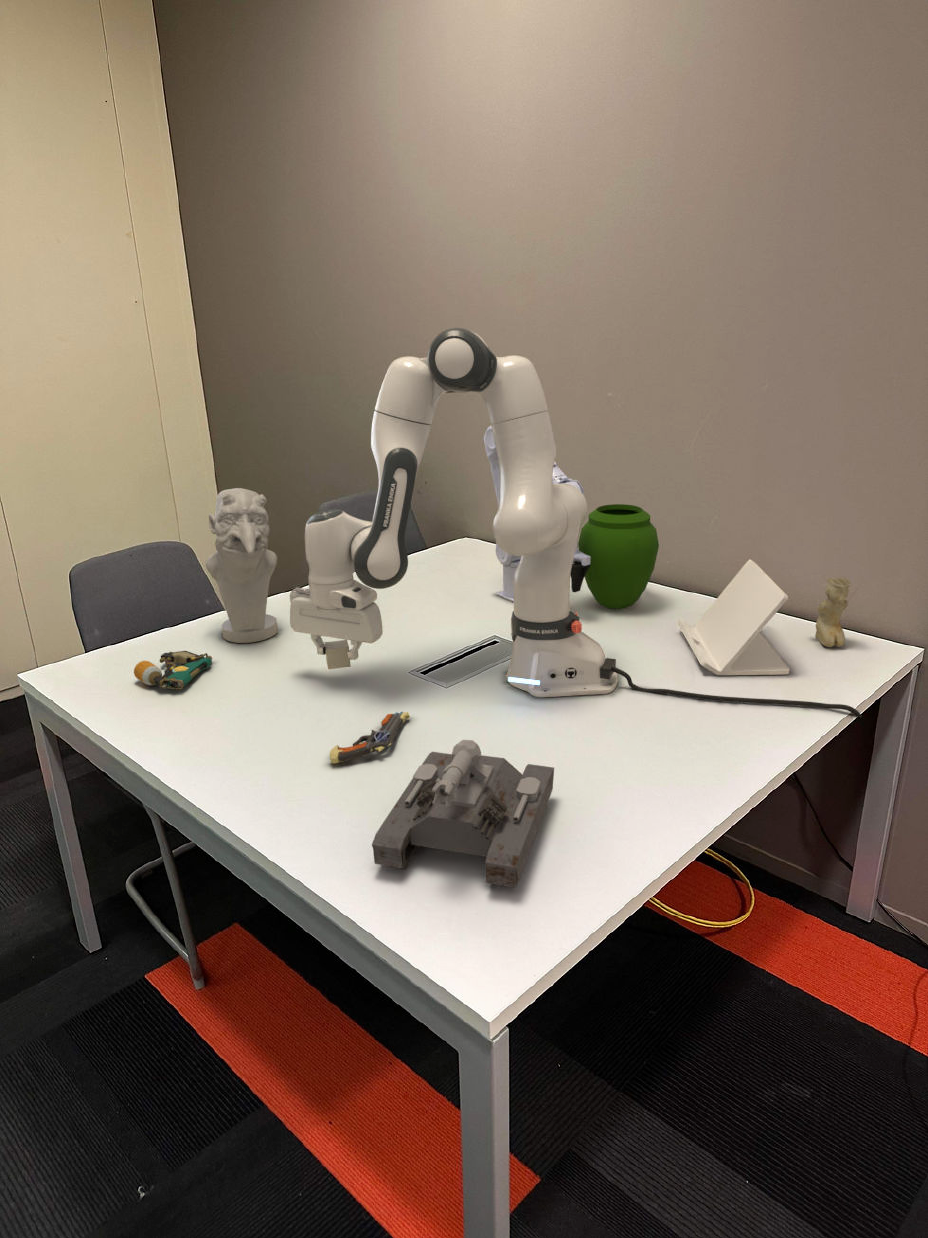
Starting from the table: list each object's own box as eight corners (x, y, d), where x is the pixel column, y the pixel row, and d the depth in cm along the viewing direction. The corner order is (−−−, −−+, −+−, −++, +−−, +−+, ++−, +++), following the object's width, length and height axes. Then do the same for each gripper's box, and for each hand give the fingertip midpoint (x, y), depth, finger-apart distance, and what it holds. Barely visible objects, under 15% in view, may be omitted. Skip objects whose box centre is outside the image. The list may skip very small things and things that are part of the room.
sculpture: (821, 649, 184) (830, 583, 179) (808, 637, 191) (816, 573, 185) (848, 649, 184) (858, 582, 179) (834, 636, 191) (843, 572, 185)
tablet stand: (754, 629, 196) (761, 558, 190) (790, 674, 173) (800, 594, 167) (675, 630, 197) (679, 559, 191) (700, 675, 173) (706, 596, 167)
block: (326, 661, 176) (324, 642, 174) (348, 659, 177) (346, 639, 175) (328, 669, 172) (326, 649, 171) (350, 666, 173) (349, 646, 172)
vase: (599, 587, 227) (601, 497, 218) (668, 600, 216) (673, 505, 208) (562, 608, 212) (564, 513, 204) (634, 623, 202) (639, 523, 193)
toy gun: (325, 753, 143) (381, 751, 141) (358, 709, 161) (409, 707, 159) (327, 768, 144) (384, 766, 142) (361, 723, 161) (412, 720, 159)
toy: (433, 778, 139) (429, 695, 134) (554, 794, 134) (555, 708, 128) (373, 873, 117) (366, 778, 111) (516, 898, 111) (515, 799, 106)
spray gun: (177, 659, 191) (231, 671, 185) (120, 684, 176) (176, 698, 171) (176, 641, 190) (230, 653, 184) (118, 665, 175) (174, 678, 169)
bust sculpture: (211, 664, 186) (188, 507, 173) (217, 626, 208) (197, 483, 195) (285, 657, 189) (268, 501, 176) (284, 619, 211) (269, 479, 198)
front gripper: (279, 591, 171) (287, 654, 176) (367, 602, 162) (372, 669, 167) (298, 581, 176) (305, 643, 181) (384, 592, 168) (388, 657, 173)
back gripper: (532, 530, 204) (532, 584, 209) (575, 542, 193) (574, 598, 198) (553, 525, 208) (552, 578, 213) (597, 536, 198) (595, 591, 202)
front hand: (338, 656), depth 174 cm, fingers closed on block, 6 cm apart
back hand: (564, 587), depth 206 cm, fingers open, 7 cm apart
